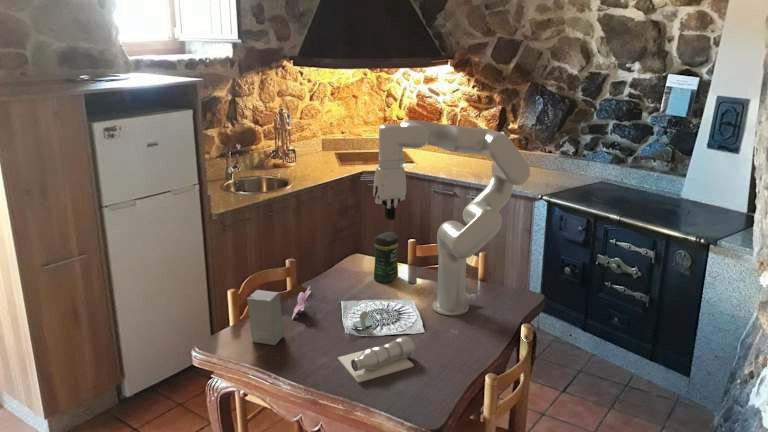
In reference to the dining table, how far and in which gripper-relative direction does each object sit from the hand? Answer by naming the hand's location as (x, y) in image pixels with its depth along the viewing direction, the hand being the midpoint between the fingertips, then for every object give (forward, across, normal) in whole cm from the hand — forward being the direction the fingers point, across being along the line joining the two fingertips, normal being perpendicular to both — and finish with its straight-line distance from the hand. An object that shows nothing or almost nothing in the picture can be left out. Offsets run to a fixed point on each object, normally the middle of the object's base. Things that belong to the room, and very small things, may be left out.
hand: (390, 218), depth 199 cm
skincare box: (+35, +42, -5) cm, 55 cm away
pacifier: (+35, +12, +2) cm, 37 cm away
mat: (+35, +19, +24) cm, 46 cm away
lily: (+35, +25, -16) cm, 46 cm away
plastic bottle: (+31, +7, +26) cm, 41 cm away
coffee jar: (+35, -15, -28) cm, 47 cm away
